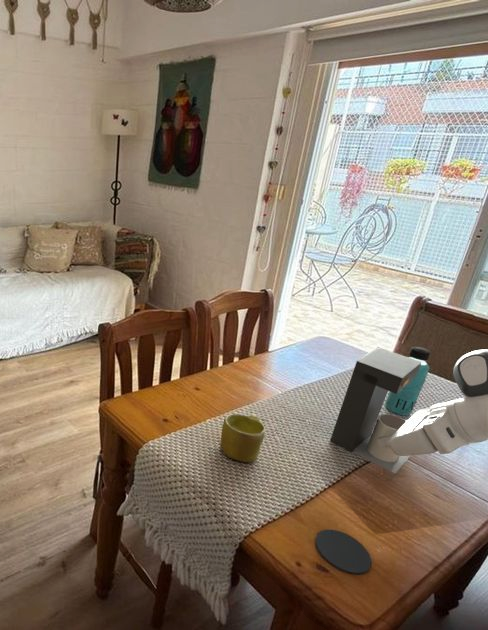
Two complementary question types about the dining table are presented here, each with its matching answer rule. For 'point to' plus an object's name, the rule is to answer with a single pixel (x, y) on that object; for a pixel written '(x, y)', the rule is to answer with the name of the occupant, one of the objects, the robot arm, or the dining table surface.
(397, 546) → the dining table surface
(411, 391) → the beverage bottle
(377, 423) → the coffee cup
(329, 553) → the coaster
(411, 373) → the coffee maker
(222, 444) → the mug
